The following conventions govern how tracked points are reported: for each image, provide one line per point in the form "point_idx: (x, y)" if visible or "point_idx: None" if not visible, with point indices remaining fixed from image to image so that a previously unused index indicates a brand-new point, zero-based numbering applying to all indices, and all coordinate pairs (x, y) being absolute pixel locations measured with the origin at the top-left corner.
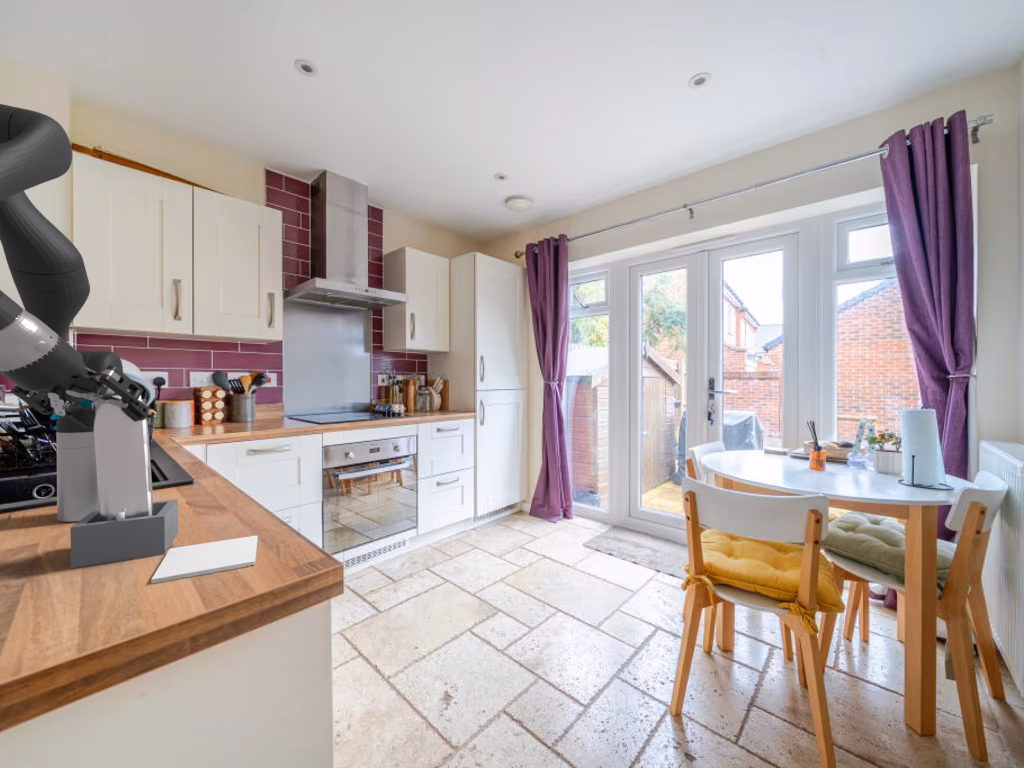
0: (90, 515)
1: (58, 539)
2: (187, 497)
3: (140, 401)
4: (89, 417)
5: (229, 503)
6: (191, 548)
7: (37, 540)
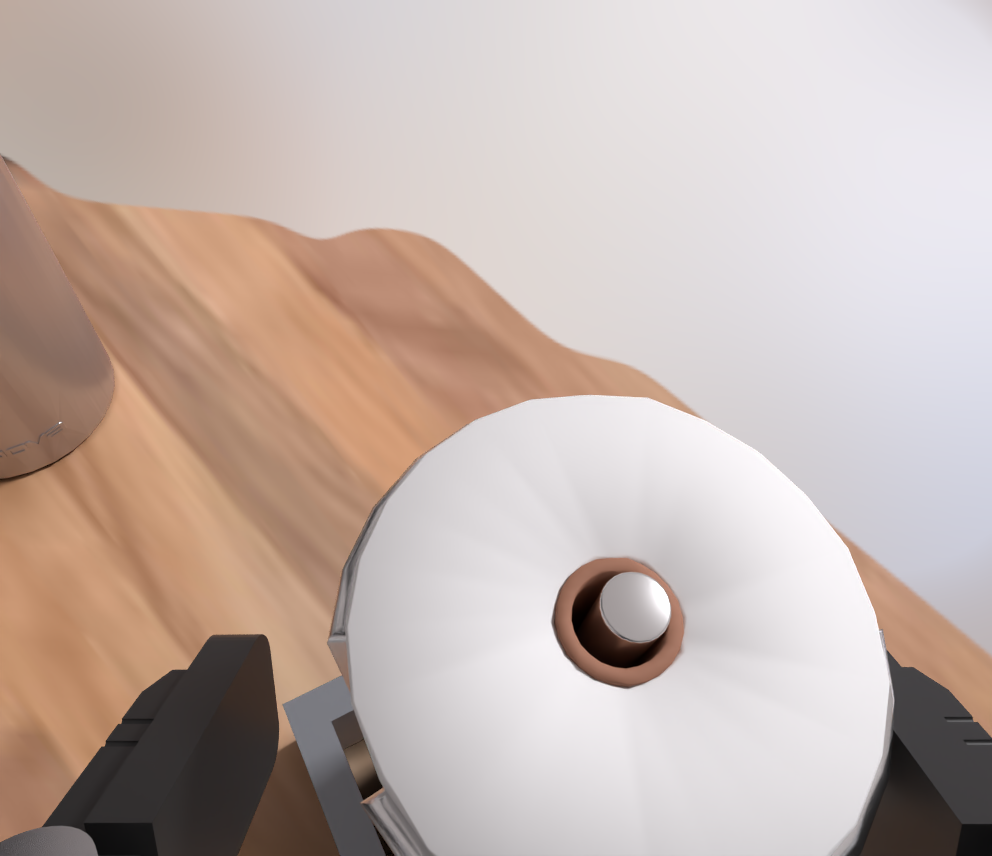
0: (353, 842)
1: (91, 680)
2: (267, 224)
3: (884, 643)
4: (246, 710)
5: (485, 304)
6: None
7: (5, 689)
